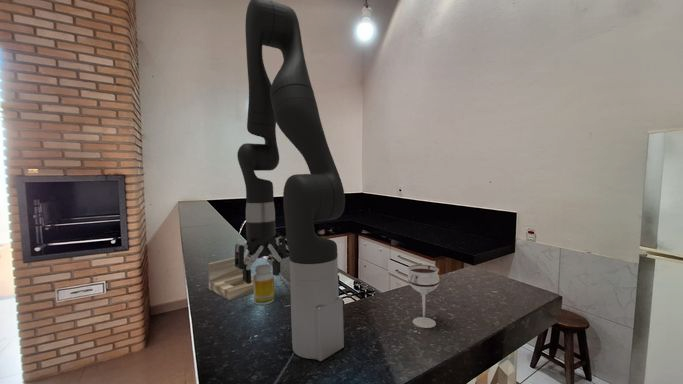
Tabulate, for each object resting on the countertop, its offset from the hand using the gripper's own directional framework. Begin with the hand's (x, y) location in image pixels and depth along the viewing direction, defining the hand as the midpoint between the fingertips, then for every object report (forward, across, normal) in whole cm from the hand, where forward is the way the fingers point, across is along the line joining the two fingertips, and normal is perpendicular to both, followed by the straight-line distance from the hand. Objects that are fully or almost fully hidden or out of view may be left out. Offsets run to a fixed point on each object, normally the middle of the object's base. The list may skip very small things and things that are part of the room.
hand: (262, 278), depth 80 cm
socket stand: (+6, 0, +14) cm, 15 cm away
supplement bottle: (+6, 0, 0) cm, 6 cm away
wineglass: (+6, +17, -38) cm, 42 cm away
